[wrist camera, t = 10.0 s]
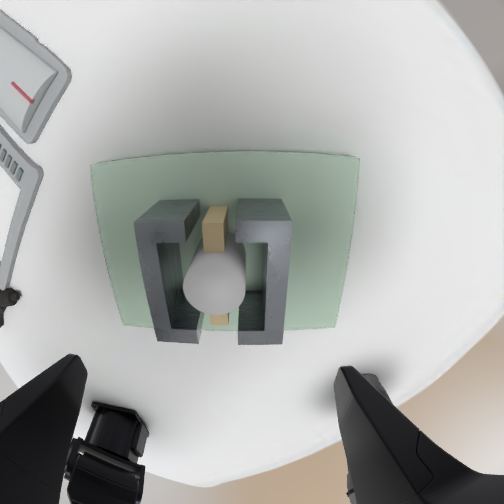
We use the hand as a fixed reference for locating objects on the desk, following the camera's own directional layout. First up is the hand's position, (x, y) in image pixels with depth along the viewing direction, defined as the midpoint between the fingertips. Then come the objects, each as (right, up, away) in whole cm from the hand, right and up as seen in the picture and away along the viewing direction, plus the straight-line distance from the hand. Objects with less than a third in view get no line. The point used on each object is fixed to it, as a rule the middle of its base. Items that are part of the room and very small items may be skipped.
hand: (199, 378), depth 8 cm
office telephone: (-23, +14, +6) cm, 28 cm away
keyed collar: (0, +4, +9) cm, 9 cm away
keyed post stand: (0, +4, +10) cm, 11 cm away
